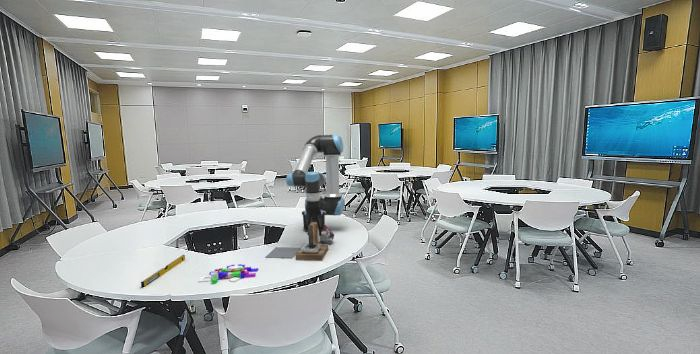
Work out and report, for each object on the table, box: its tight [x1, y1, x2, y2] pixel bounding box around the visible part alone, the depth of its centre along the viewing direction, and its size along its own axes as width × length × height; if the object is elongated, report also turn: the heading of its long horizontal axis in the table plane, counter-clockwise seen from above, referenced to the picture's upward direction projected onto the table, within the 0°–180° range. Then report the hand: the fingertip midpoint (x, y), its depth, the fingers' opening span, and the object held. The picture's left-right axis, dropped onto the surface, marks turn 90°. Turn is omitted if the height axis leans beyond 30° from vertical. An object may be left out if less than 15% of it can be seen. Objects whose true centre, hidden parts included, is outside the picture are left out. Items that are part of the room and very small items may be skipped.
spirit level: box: [140, 254, 186, 288], centre depth 165 cm, size 33×1×3 cm, turn 177°
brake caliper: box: [319, 224, 335, 245], centre depth 203 cm, size 11×11×12 cm
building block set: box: [197, 263, 259, 285], centre depth 161 cm, size 25×20×4 cm
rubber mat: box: [264, 246, 301, 259], centre depth 188 cm, size 16×15×1 cm
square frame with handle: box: [300, 222, 322, 252], centre depth 183 cm, size 14×9×12 cm, turn 172°
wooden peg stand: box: [294, 225, 329, 262], centre depth 183 cm, size 17×14×17 cm
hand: (314, 241), depth 189 cm, fingers closed on square frame with handle, 4 cm apart
